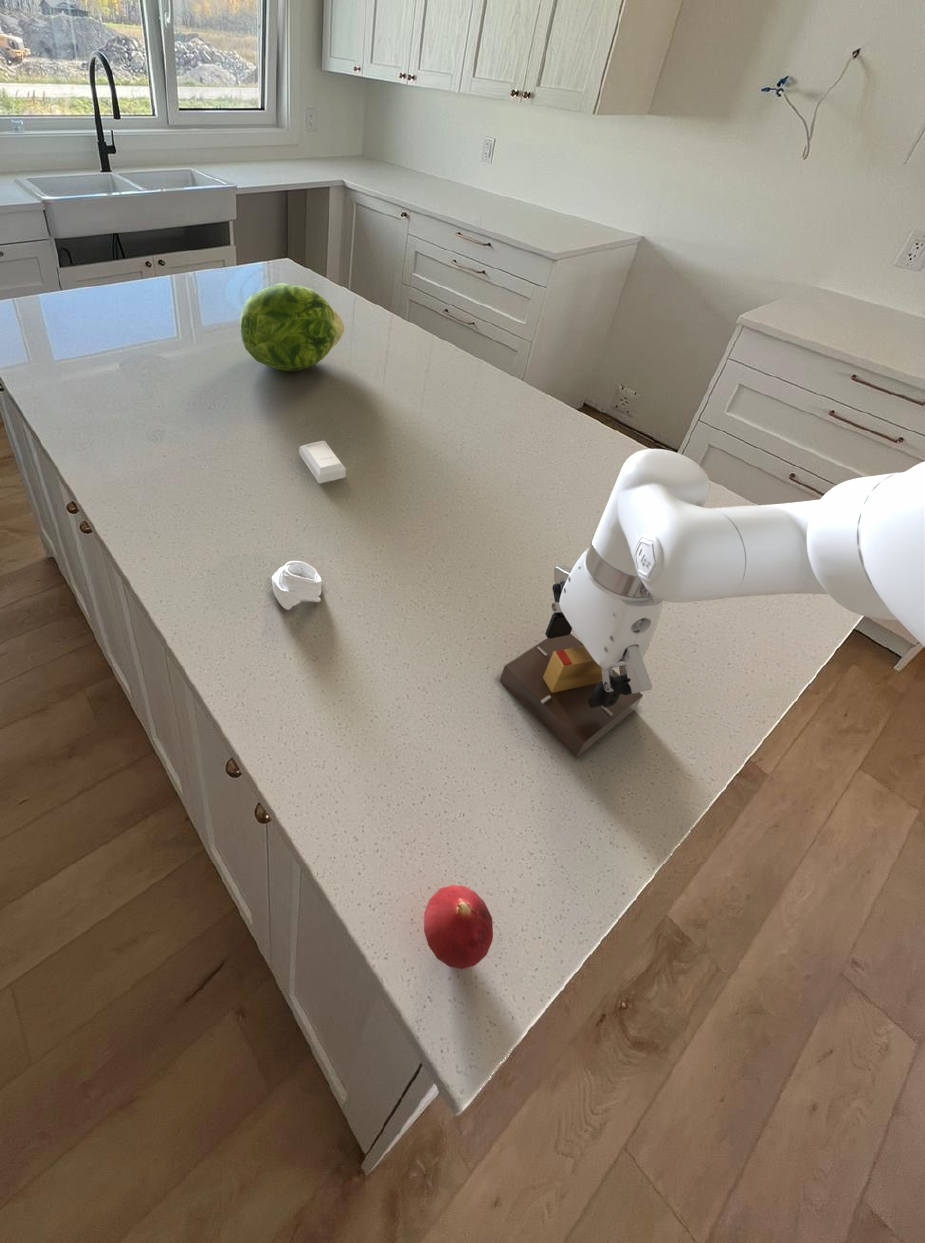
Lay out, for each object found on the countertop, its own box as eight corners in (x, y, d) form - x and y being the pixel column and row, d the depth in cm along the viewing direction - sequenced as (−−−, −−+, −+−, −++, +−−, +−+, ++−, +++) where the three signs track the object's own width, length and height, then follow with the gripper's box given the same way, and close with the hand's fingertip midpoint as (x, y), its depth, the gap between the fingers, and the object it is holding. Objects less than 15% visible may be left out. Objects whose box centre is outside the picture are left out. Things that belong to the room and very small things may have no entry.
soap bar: (318, 483, 107) (319, 471, 106) (299, 455, 114) (299, 442, 112) (345, 477, 109) (346, 465, 108) (324, 449, 115) (325, 437, 114)
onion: (482, 908, 58) (499, 872, 53) (486, 985, 54) (505, 953, 49) (419, 899, 58) (431, 863, 54) (417, 975, 54) (430, 942, 49)
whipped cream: (264, 585, 89) (259, 560, 86) (305, 566, 92) (302, 541, 89) (290, 621, 84) (285, 595, 81) (333, 599, 86) (330, 574, 84)
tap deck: (635, 709, 76) (644, 694, 74) (575, 758, 71) (583, 742, 69) (558, 641, 84) (564, 626, 82) (498, 680, 78) (504, 665, 76)
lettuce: (356, 375, 140) (365, 292, 132) (260, 383, 128) (264, 292, 120) (314, 352, 154) (320, 275, 146) (223, 357, 142) (224, 274, 134)
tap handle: (593, 666, 77) (606, 639, 74) (603, 682, 75) (617, 654, 72) (542, 677, 75) (553, 650, 72) (551, 693, 74) (563, 665, 70)
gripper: (715, 624, 58) (650, 726, 68) (609, 505, 71) (567, 606, 81) (646, 638, 56) (589, 741, 67) (550, 513, 69) (515, 616, 80)
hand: (577, 667), depth 74 cm, fingers open, 9 cm apart
